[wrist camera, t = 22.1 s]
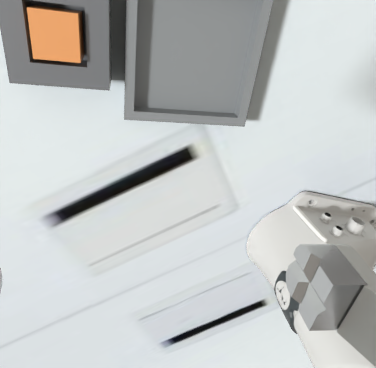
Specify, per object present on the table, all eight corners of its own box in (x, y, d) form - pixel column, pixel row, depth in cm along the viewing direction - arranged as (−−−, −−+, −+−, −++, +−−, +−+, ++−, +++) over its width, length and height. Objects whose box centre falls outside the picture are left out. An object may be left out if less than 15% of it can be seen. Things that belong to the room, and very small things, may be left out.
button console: (110, -17, 30) (108, -17, 26) (110, 80, 34) (109, 90, 31) (6, -32, 28) (-11, -34, 24) (21, 72, 32) (9, 82, 29)
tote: (266, -12, 32) (276, -12, 30) (238, 118, 39) (244, 126, 37) (126, -34, 29) (127, -35, 27) (124, 111, 36) (124, 119, 34)
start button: (82, 11, 29) (78, 13, 26) (84, 56, 31) (80, 63, 29) (35, 5, 28) (26, 7, 26) (40, 52, 30) (33, 58, 28)
